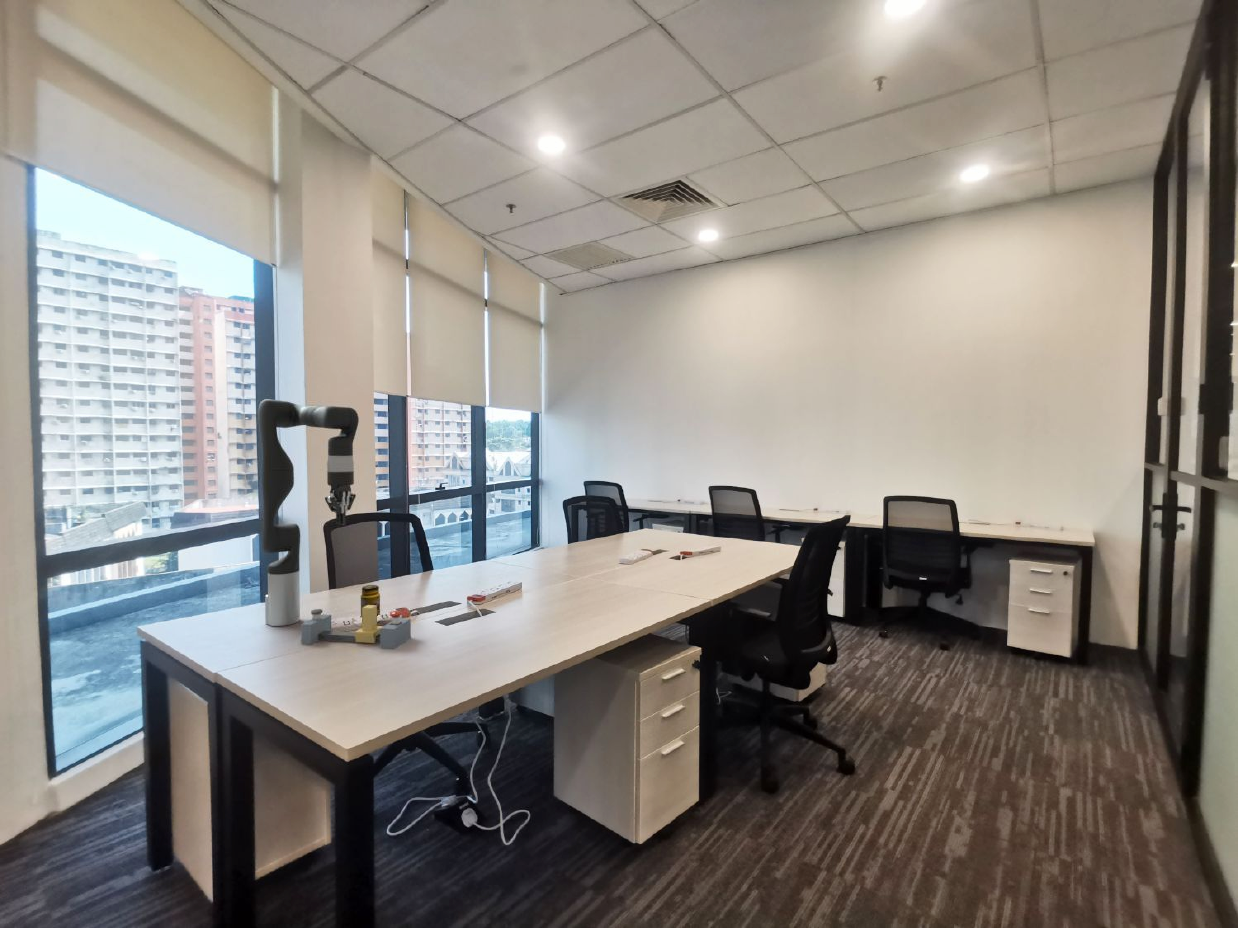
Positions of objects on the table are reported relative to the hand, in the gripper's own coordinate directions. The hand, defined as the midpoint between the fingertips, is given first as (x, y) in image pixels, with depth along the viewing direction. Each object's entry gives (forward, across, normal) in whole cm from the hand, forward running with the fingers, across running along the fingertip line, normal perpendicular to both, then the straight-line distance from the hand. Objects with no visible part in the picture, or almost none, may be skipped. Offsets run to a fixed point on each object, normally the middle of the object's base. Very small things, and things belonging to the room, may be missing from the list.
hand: (341, 524), depth 177 cm
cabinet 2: (+35, -5, -21) cm, 41 cm away
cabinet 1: (+35, -5, +5) cm, 36 cm away
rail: (+35, -5, -8) cm, 36 cm away
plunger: (+31, -5, -21) cm, 38 cm away
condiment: (+35, +13, -1) cm, 38 cm away
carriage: (+35, -5, -12) cm, 37 cm away
